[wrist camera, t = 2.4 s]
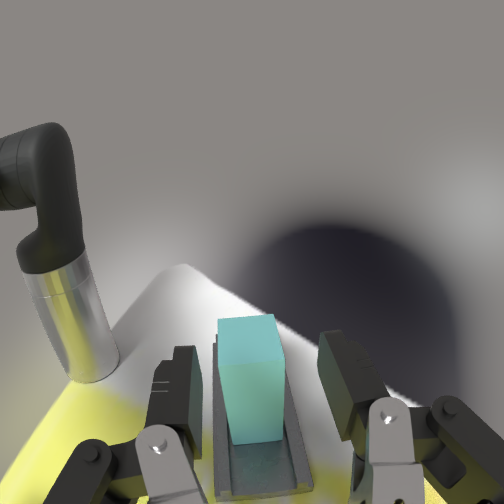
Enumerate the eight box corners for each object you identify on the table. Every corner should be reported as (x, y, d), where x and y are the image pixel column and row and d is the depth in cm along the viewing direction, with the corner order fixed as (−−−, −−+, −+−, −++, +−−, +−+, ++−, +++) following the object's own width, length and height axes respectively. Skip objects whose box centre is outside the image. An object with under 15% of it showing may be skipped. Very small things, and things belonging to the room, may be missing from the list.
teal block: (282, 439, 27) (285, 359, 23) (232, 445, 27) (218, 365, 22) (274, 397, 33) (273, 314, 28) (230, 402, 33) (217, 319, 28)
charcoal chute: (312, 491, 23) (315, 480, 22) (217, 501, 22) (212, 491, 21) (277, 345, 44) (277, 328, 42) (214, 350, 43) (211, 334, 42)
